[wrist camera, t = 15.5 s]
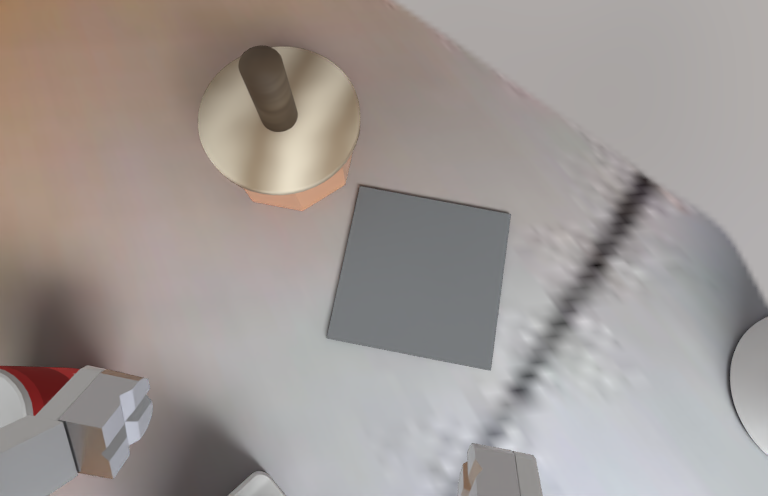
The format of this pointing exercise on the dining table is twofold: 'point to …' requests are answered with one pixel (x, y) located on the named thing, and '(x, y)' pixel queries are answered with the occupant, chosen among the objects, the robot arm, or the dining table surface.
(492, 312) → the mat
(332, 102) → the lid
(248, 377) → the dining table surface
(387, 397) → the dining table surface
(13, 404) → the canned food
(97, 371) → the robot arm
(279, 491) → the grey open bin
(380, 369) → the dining table surface
